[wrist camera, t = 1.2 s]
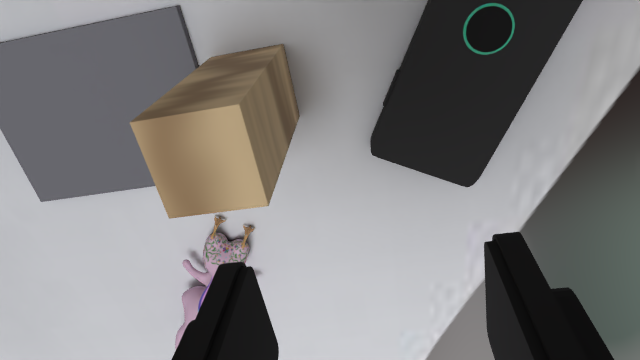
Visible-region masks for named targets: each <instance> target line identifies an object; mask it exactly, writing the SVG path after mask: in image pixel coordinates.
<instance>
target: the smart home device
mask: <svg viewBox="0 0 640 360" xmlns="http://www.w3.org/2000/svg"><path fill="white" fill-rule="evenodd" d="M582 1H583V0H428V3H427V5H426V7H425V10H424V12H423V15H422V17H421V19H420V22H419V24H418V26H417V29H416V31H415V33H414V36H413V38H412V41H411V43H410V45H409V48H408V50H407V52H406V55H405V57H404V60H403V62H402V64H401V67H400V69H399V70H397V71H396V74H395V76H394V79H393V81H392V83H391V86H390V88H389V90H388V93H387V95H386V98H385V100H384V102H383V106H384V107H383V109H382V112H381V114H380V116H379V119H378V121H377V124H376V126H375V128H374V131H373V133H372V136H371V153H372V155H373V156H376V157H378V158H381V159H384V160H387V161H390V162H393V163H396V164H399V165H402V166H405V167H408V168H411V169H413V170H416V171H419V172H422V173H425V174H428V175H431V176H434V177H437V178H440V179H443V180H446V181H449V182H452V183H455V184H458V185H461V186H465V187H470V186H472V185H473V184H474V183H475V182H476V181H477V180H478V179H479V177H480V176H481V174H482V173H483V171H484V169H485V167H486V166H487V164H488V162H489V161H490V159H491V157H492V155H493V154H494V152H495V150H496V149H497V147H498V145H499V143H500V142H501V140H502V138H503V136H504V135H505V133H506V131H507V130H508V128H509V126H510V124H511V123H512V121H513V119H514V118H515V116H516V114H517V112H518V111H519V109H520V107H521V106H522V104H523V102H524V100H525V99H526V97H527V95H528V94H529V92H530V90H531V88H532V87H533V85H534V83H535V82H536V80H537V78H538V76H539V75H540V73H541V71H542V69H543V68H544V66H545V64H546V63H547V61H548V59H549V57H550V56H551V54H552V52H553V51H554V49H555V47H556V45H557V44H558V42H559V40H560V39H561V37H562V35H563V33H564V32H565V30H566V28H567V27H568V25H569V23H570V21H571V20H572V18H573V16H574V14H575V13H576V11H577V9H578V8H579V6H580V4H581V2H582Z"/></svg>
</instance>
